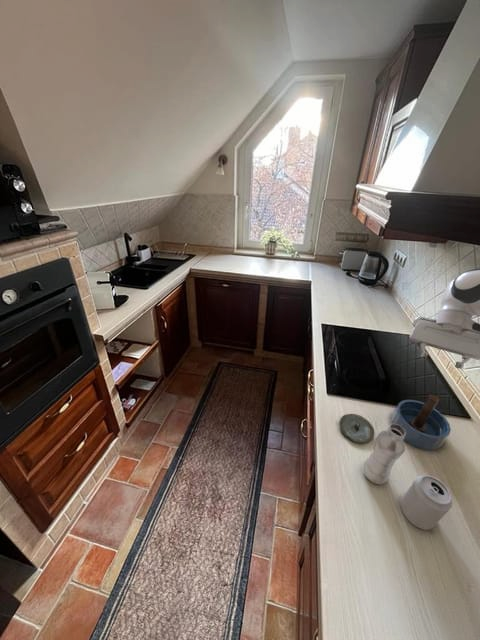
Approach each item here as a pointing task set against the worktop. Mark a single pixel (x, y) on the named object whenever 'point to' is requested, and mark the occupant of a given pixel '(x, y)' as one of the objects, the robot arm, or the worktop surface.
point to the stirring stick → (424, 413)
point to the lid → (356, 428)
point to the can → (426, 502)
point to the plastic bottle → (385, 454)
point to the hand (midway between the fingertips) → (440, 362)
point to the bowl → (435, 424)
